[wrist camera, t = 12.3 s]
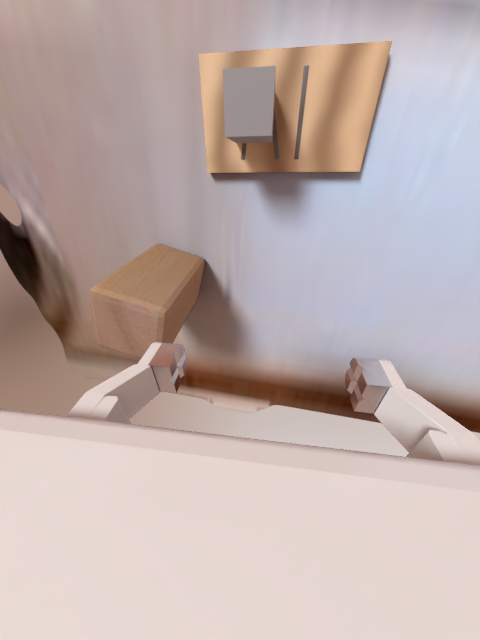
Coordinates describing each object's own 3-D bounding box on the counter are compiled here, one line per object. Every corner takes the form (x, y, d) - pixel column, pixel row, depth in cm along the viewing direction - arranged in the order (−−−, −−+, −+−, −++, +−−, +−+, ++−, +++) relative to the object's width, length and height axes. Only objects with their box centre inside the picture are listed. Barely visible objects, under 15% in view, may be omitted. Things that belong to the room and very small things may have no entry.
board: (386, 46, 26) (392, 40, 25) (356, 171, 33) (359, 171, 31) (201, 58, 28) (198, 53, 27) (209, 172, 35) (207, 172, 34)
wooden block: (153, 285, 48) (92, 347, 32) (156, 240, 42) (83, 288, 26) (198, 299, 49) (160, 367, 33) (207, 257, 43) (166, 313, 27)
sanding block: (275, 91, 28) (275, 65, 21) (272, 142, 31) (271, 135, 23) (235, 93, 28) (222, 69, 21) (236, 143, 31) (225, 136, 24)
